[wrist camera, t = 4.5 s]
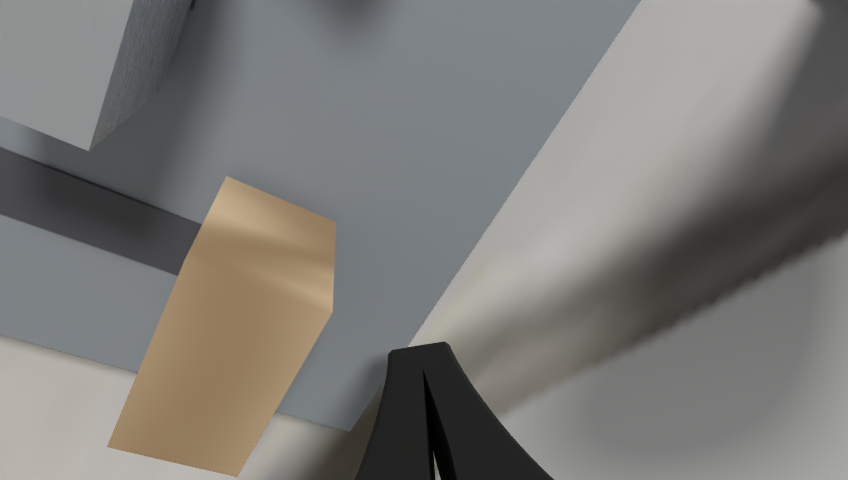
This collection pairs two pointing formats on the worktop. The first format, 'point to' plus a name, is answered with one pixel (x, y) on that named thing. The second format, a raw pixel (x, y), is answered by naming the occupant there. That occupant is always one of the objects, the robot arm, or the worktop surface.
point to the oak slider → (231, 332)
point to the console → (298, 169)
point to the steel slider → (84, 62)
